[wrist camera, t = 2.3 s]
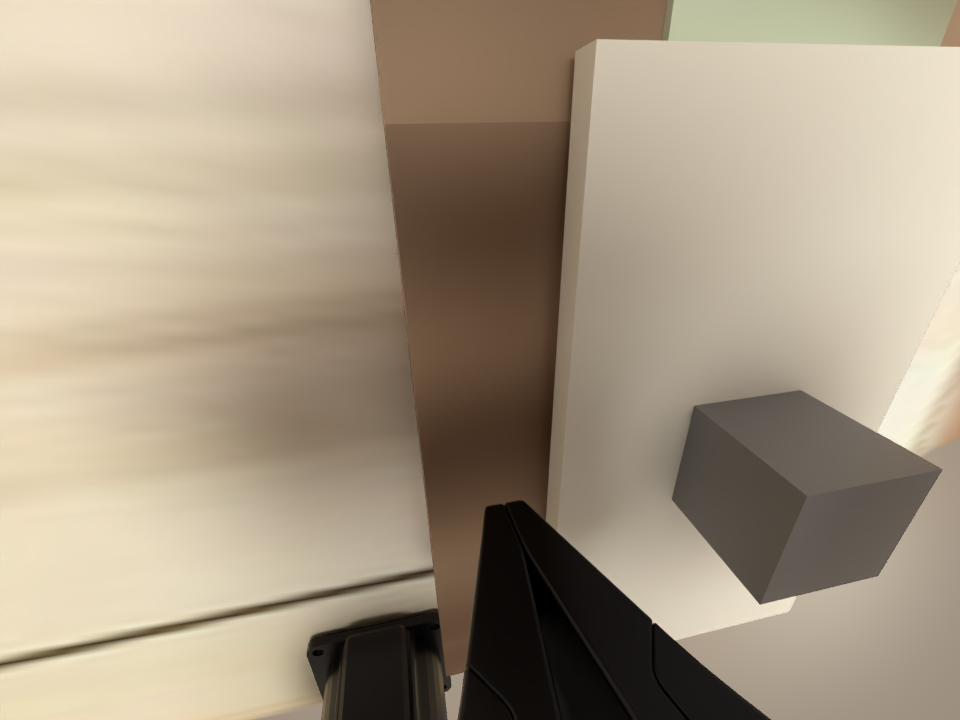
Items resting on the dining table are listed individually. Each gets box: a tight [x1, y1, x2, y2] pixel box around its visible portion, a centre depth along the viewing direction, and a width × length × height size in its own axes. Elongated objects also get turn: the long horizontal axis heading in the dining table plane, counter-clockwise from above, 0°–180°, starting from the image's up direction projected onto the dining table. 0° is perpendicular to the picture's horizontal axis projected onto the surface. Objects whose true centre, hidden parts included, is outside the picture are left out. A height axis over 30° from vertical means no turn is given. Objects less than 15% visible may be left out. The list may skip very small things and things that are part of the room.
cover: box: [546, 39, 960, 640], centre depth 10 cm, size 17×10×4 cm, turn 2°
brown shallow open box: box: [370, 0, 960, 676], centre depth 13 cm, size 24×16×5 cm, turn 2°
